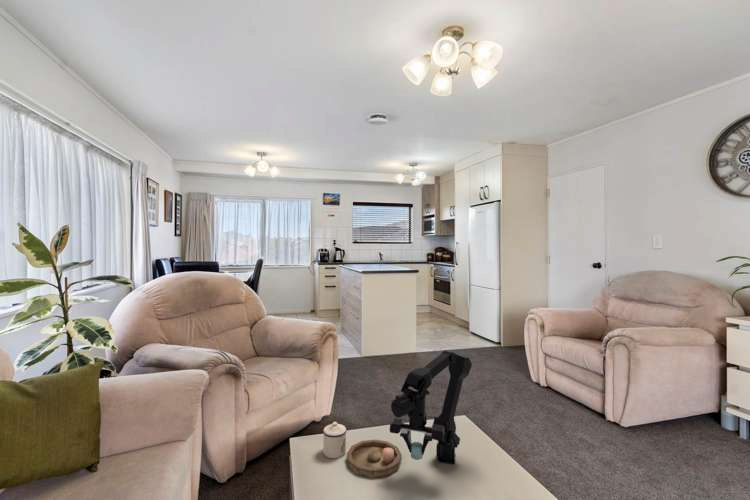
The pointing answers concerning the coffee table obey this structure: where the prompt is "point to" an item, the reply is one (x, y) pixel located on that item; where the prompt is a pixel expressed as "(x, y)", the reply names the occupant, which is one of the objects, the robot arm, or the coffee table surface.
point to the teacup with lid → (334, 440)
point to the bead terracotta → (388, 455)
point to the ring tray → (372, 458)
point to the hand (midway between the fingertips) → (416, 453)
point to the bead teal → (416, 450)
